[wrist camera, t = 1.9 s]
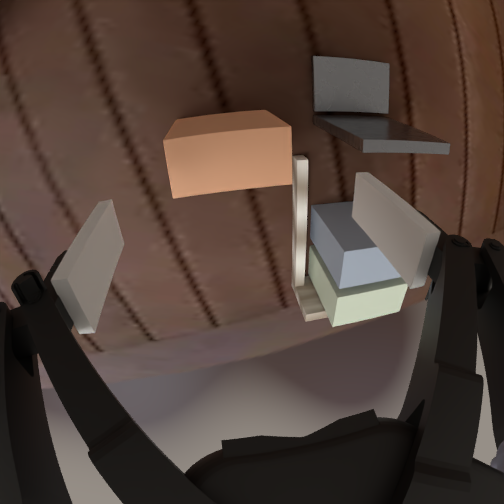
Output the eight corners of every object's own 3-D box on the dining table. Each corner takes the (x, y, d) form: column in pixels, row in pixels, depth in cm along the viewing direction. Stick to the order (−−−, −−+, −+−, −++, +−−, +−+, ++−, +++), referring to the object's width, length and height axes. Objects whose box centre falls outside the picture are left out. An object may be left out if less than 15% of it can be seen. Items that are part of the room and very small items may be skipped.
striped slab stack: (292, 155, 31) (313, 177, 26) (385, 152, 32) (419, 172, 27) (291, 284, 42) (305, 321, 36) (368, 272, 43) (389, 303, 37)
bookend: (311, 56, 25) (364, 52, 16) (386, 63, 26) (455, 71, 17) (313, 124, 29) (362, 152, 20) (385, 125, 30) (448, 154, 21)
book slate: (311, 205, 35) (344, 251, 27) (377, 199, 36) (420, 240, 28) (310, 237, 38) (339, 289, 29) (372, 229, 38) (411, 274, 30)
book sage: (309, 245, 38) (337, 297, 30) (371, 237, 39) (408, 283, 31) (308, 273, 41) (332, 326, 33) (366, 264, 42) (399, 311, 33)
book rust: (176, 119, 28) (162, 140, 19) (265, 109, 28) (291, 126, 20) (181, 160, 30) (173, 198, 22) (267, 150, 31) (292, 184, 23)
